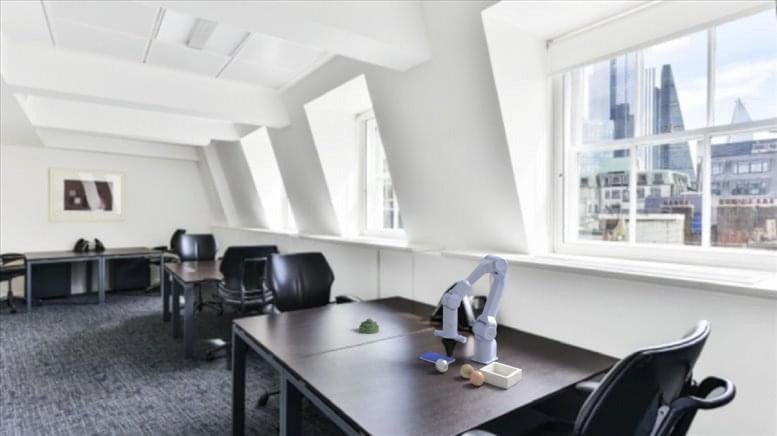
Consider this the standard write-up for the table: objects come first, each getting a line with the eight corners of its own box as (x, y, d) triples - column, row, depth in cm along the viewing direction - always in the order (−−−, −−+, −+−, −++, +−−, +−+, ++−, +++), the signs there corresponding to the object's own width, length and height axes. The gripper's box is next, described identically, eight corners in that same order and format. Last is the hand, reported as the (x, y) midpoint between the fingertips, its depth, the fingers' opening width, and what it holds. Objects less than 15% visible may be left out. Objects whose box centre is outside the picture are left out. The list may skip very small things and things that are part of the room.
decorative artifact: (358, 334, 207) (378, 334, 207) (358, 320, 206) (378, 320, 206) (359, 328, 217) (379, 328, 217) (360, 315, 216) (379, 315, 216)
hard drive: (455, 358, 172) (431, 351, 180) (443, 363, 166) (419, 355, 174) (455, 362, 172) (431, 354, 180) (443, 367, 166) (419, 359, 174)
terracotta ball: (474, 381, 152) (474, 367, 152) (486, 385, 148) (486, 371, 148) (467, 385, 148) (467, 371, 148) (479, 389, 145) (479, 375, 145)
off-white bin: (494, 371, 161) (494, 361, 161) (521, 380, 153) (521, 369, 153) (479, 380, 152) (479, 369, 152) (507, 389, 145) (507, 378, 145)
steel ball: (440, 368, 163) (440, 355, 163) (450, 371, 160) (451, 359, 160) (432, 371, 160) (432, 358, 159) (443, 375, 156) (443, 362, 156)
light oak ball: (464, 374, 158) (465, 361, 158) (476, 377, 155) (476, 364, 154) (457, 377, 154) (457, 364, 154) (469, 381, 151) (469, 368, 151)
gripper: (429, 321, 170) (429, 354, 171) (459, 328, 161) (459, 363, 161) (439, 318, 176) (439, 350, 176) (469, 325, 166) (469, 358, 166)
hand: (449, 356), depth 169 cm, fingers closed
